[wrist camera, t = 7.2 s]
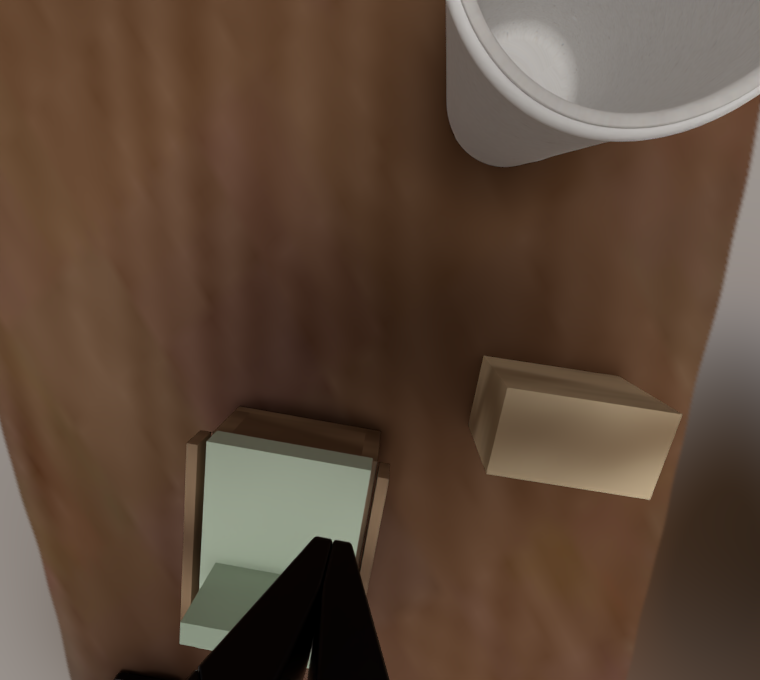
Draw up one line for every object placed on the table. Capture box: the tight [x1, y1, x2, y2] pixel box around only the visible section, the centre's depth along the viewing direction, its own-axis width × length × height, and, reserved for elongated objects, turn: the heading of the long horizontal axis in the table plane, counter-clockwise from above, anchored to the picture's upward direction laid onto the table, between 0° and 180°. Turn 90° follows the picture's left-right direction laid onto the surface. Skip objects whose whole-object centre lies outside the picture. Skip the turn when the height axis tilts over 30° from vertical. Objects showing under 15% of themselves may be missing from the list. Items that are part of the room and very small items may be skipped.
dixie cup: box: [446, 0, 760, 167], centre depth 11 cm, size 8×8×10 cm
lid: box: [180, 431, 373, 668], centre depth 17 cm, size 12×8×4 cm, turn 171°
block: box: [468, 356, 682, 500], centre depth 18 cm, size 4×7×5 cm, turn 82°
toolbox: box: [180, 406, 390, 622], centre depth 20 cm, size 12×9×4 cm
